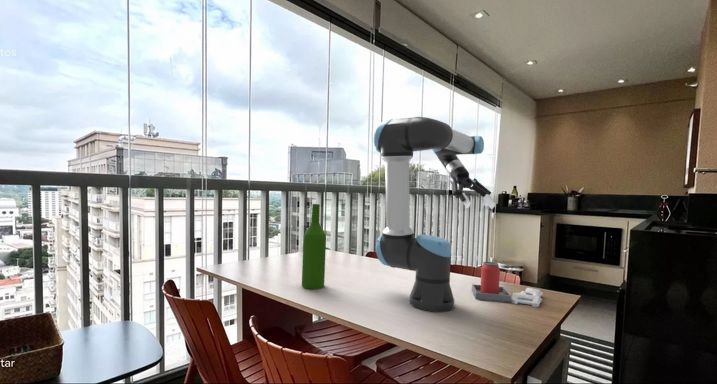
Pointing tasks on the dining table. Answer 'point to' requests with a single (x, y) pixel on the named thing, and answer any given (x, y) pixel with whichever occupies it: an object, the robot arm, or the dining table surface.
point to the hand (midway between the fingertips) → (481, 207)
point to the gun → (527, 297)
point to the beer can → (490, 278)
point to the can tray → (491, 295)
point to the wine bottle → (314, 253)
